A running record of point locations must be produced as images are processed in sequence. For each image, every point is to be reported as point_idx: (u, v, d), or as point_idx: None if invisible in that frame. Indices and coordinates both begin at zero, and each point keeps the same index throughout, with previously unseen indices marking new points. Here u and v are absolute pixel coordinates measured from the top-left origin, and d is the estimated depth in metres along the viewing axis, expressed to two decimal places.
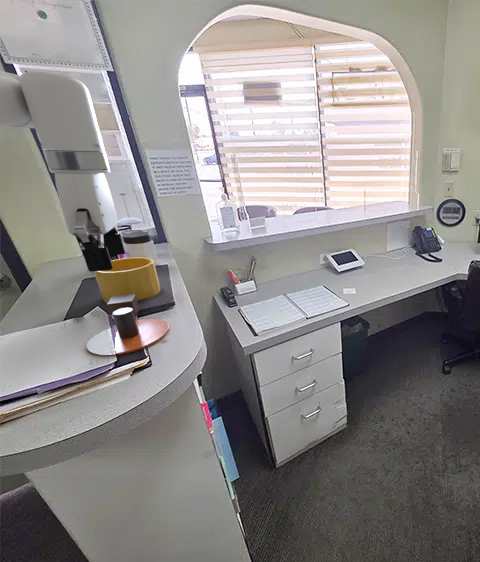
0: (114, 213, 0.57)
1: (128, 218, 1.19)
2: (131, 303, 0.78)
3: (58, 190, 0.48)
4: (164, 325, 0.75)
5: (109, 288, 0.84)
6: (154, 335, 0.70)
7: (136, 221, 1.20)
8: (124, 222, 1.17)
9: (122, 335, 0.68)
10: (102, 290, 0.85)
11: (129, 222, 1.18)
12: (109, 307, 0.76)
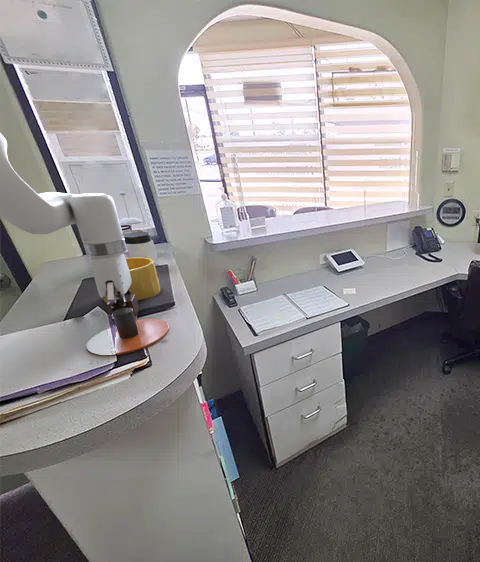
0: (129, 277, 0.79)
1: (128, 218, 1.19)
2: (131, 303, 0.78)
3: (93, 269, 0.70)
4: (164, 325, 0.75)
5: None
6: (154, 335, 0.70)
7: (136, 221, 1.20)
8: (124, 222, 1.17)
9: (122, 335, 0.68)
10: None
11: (129, 222, 1.18)
12: (109, 307, 0.76)
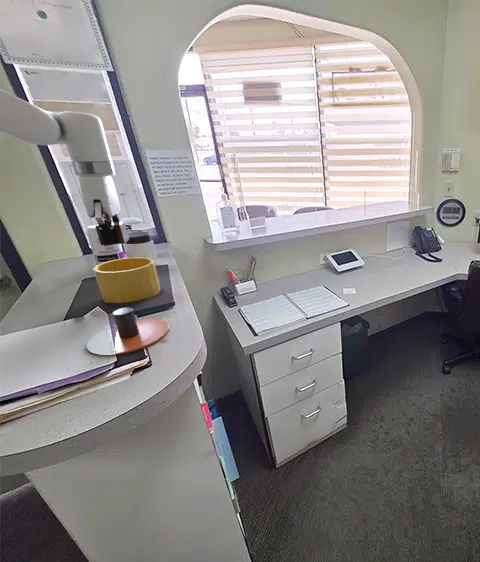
0: (118, 203, 0.82)
1: (128, 218, 1.19)
2: (119, 227, 0.80)
3: (81, 187, 0.73)
4: (164, 325, 0.75)
5: (109, 288, 0.84)
6: (154, 335, 0.70)
7: (136, 221, 1.20)
8: None
9: (122, 335, 0.68)
10: (102, 290, 0.85)
11: (129, 222, 1.18)
12: (98, 229, 0.78)
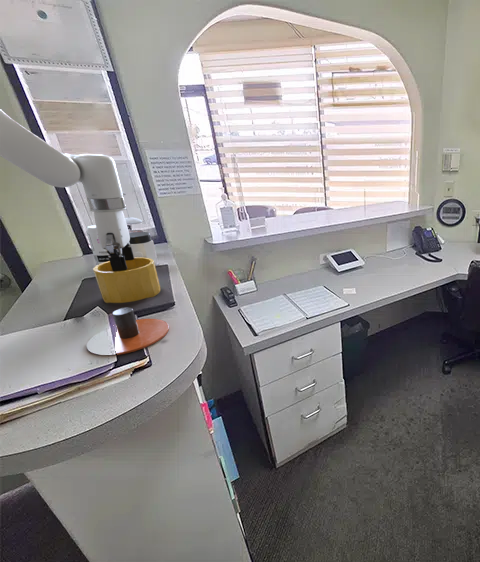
0: (128, 234, 0.88)
1: (128, 218, 1.19)
2: None
3: (96, 222, 0.79)
4: (164, 325, 0.75)
5: (109, 288, 0.84)
6: (154, 335, 0.70)
7: (136, 221, 1.20)
8: None
9: (122, 335, 0.68)
10: (102, 290, 0.85)
11: (129, 222, 1.18)
12: None
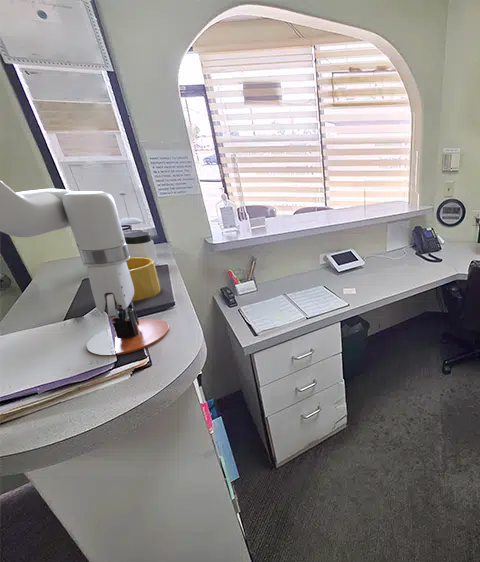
0: (132, 287, 0.69)
1: (128, 218, 1.19)
2: None
3: (90, 280, 0.60)
4: (164, 325, 0.75)
5: None
6: (154, 335, 0.70)
7: (136, 221, 1.20)
8: (124, 222, 1.17)
9: None
10: None
11: (129, 222, 1.18)
12: None
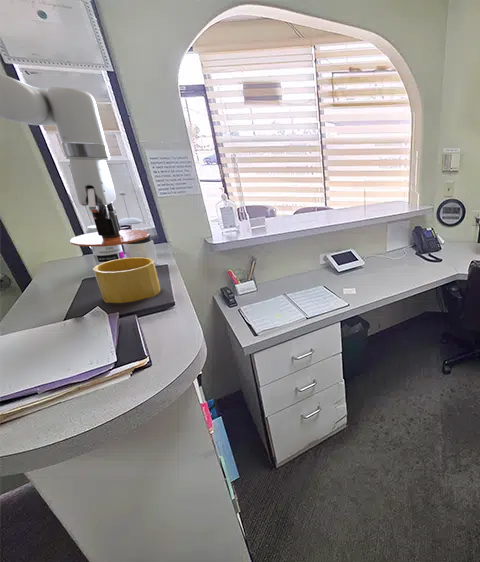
0: (113, 191, 0.75)
1: (128, 218, 1.19)
2: None
3: (72, 171, 0.66)
4: (144, 233, 0.80)
5: (109, 288, 0.84)
6: (133, 237, 0.76)
7: (136, 221, 1.20)
8: (124, 222, 1.17)
9: None
10: (102, 290, 0.85)
11: (129, 222, 1.18)
12: None
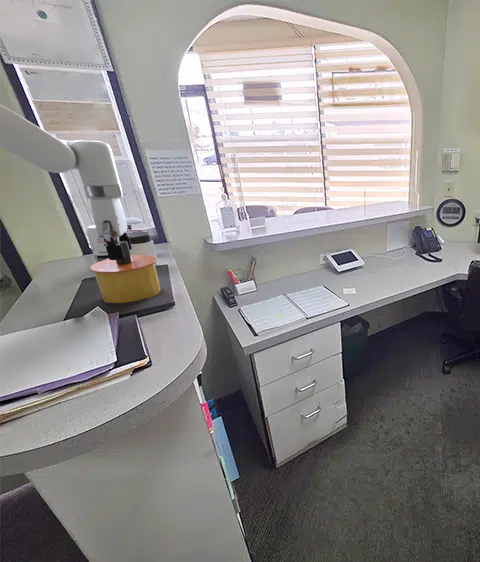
0: (125, 222, 0.87)
1: (128, 218, 1.19)
2: None
3: (92, 209, 0.78)
4: (152, 258, 0.93)
5: (109, 288, 0.84)
6: (144, 263, 0.88)
7: (136, 221, 1.20)
8: None
9: (118, 261, 0.86)
10: (102, 290, 0.85)
11: (129, 222, 1.18)
12: None
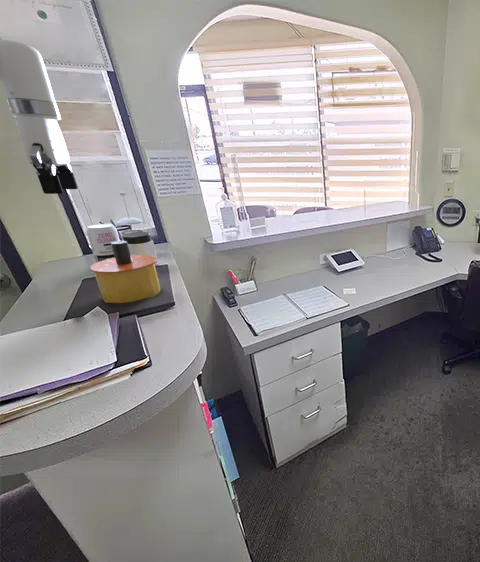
0: (66, 153, 0.74)
1: (128, 218, 1.19)
2: None
3: (18, 128, 0.65)
4: (152, 258, 0.93)
5: (109, 288, 0.84)
6: (144, 263, 0.88)
7: (136, 221, 1.20)
8: (124, 222, 1.17)
9: (118, 261, 0.86)
10: (102, 290, 0.85)
11: (129, 222, 1.18)
12: None
